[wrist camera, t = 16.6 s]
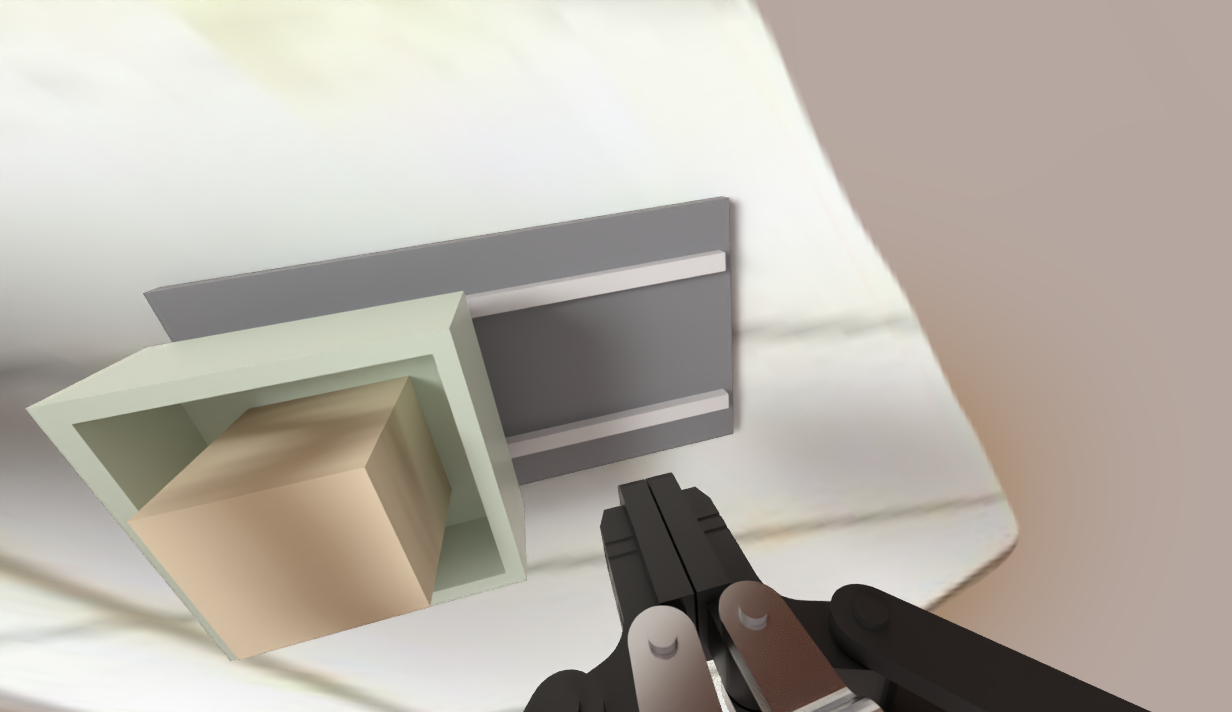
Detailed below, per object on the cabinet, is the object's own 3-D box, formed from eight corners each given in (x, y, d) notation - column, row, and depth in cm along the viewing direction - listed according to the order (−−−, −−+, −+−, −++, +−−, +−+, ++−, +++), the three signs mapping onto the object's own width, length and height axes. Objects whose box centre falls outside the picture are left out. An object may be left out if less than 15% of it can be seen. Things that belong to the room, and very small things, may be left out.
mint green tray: (305, 527, 20) (230, 660, 14) (189, 325, 15) (24, 408, 10) (523, 475, 21) (526, 580, 16) (468, 276, 17) (449, 328, 12)
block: (313, 523, 16) (238, 659, 12) (248, 408, 14) (126, 522, 10) (451, 489, 17) (430, 606, 13) (408, 375, 15) (364, 467, 10)
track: (299, 527, 21) (286, 550, 20) (159, 287, 16) (129, 298, 15) (726, 425, 24) (738, 440, 23) (720, 196, 19) (735, 198, 18)
